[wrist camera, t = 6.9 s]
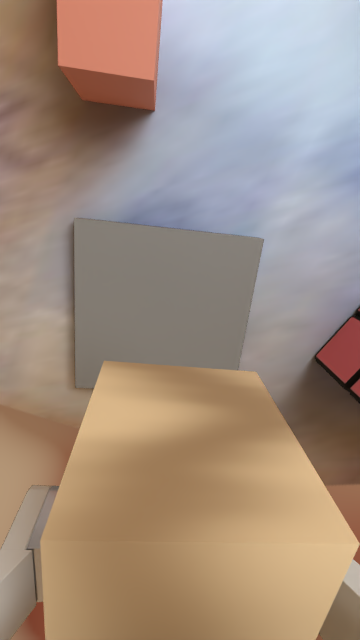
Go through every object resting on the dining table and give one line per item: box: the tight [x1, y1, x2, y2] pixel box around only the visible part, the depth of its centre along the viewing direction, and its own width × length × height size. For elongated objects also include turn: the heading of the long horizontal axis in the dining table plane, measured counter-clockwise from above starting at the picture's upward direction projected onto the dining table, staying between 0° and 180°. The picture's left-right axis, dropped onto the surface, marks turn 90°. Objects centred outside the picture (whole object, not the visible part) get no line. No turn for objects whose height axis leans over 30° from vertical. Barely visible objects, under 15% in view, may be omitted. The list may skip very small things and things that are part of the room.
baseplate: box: [74, 218, 264, 389], centre depth 23 cm, size 13×13×1 cm
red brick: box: [57, 0, 162, 111], centre depth 16 cm, size 4×7×5 cm, turn 174°
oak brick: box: [40, 361, 360, 640], centre depth 8 cm, size 4×7×5 cm, turn 173°
